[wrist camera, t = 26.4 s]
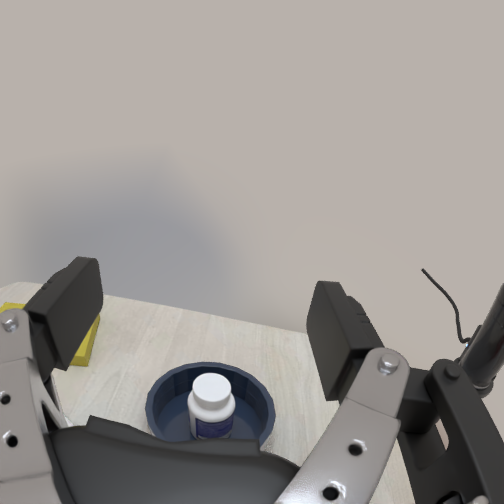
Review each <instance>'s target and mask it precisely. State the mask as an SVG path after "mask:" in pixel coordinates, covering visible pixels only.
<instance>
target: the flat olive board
mask: <svg viewBox="0 0 504 504" xmlns="http://www.w3.org/2000/svg"><path fill="white" fill-rule="evenodd" d="M25 305H26V304H18V303H7V302H5V303H4V305H3V306H2V307H1V308H0V313H1V312H3V311H5V310H8V309H12V308H19V309H22V308H23V307H24V306H25ZM99 320H100V315H99V314H98V316H97V318H96V319H95V321H94V323H93V324H92V326H91V328H90V329H89V331H88V333H87V335H86V336H85V338H84V340H83V342H82V343H81V345H80V347H79V349H78V350H77V352H76V354H75V356H74V358H73V360H72V361H71V363H70V365H77V366H88V363H89V359H90V355H91V350H92V346H93V342H94V339H95V335H96V331H97V327H98V324H99Z"/></svg>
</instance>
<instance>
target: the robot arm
mask: <svg viewBox="0 0 504 504" xmlns="http://www.w3.org/2000/svg"><path fill="white" fill-rule="evenodd" d="M422 272H423V273H424V274H425V275H426V276H427V277H428V278H429V279H430V281H431V282H432V283H433V284H434V285H435V286H436V287H437V288H438V289H439V290H440V291H441V292H442V293H443V294H444V295H445V296H446V297H447V298H448V300H449V301H450V303H451V304H452V305H453V308H454V310H455V313H456V324H457V333H458V338H459V340H460V342H461V343H466V342H468V344H467V345H466V348H465V350H464V351H463V353H462V355H461V356H460V358H459V359H458V361H459V364H457V363H456V362H454V361H451V360H448V359H439V360H437V361H436V362H435V363H434V364H433V366H432V367H431V369H430V370H429V371H428V370H422V369H416V368H411V367H410V366H409V364H408V362H407V360H406V359H405V358H404V357H403V356H402V355H401V354H400V353H398V352H397V351H394V350H392V349H388V348H385V347H384V345H383V343H382V341H381V339H380V338H379V336H378V334H377V332H376V330H375V329H374V327H373V325H372V323H370V320H369V318H368V316H366V313H365V311H364V309H363V308H362V306H361V304H360V303H358V302H357V301H356V300H355V299H354V298H353V297H351V296H346V294H345V292H344V290H343V288H342V286H341V285H340V283H339V282H330V281H318V282H317V284H316V287H315V290H314V294H313V298H312V301H311V305H310V309H309V312H308V316H307V334H308V337H309V341H310V344H311V348H312V351H313V355H314V358H315V362H316V366H317V369H318V373H319V376H320V380H321V384H322V387H323V391H324V395H325V399H326V401H335V400H338V401H339V404H340V407H339V408H338V410H337V412H336V413H335V415H334V417H333V418H332V420H331V422H330V423H329V425H328V427H327V428H326V430H325V432H324V433H323V435H322V436H321V438H320V439H319V441H318V443H317V444H316V446H315V447H314V449H313V450H312V452H311V453H310V455H309V456H308V457H307V459H306V460H305V462H304V463H303V465H302V466H301V467H299V466H297V465H296V464H294V463H293V462H291V461H289V460H287V459H285V458H283V457H280V456H278V455H275V454H272V453H269V452H265V451H261V450H260V439H233V438H217V437H215V438H207V439H199V440H189V441H177V442H169V441H165V440H162V439H160V438H157V437H155V436H152V435H150V434H148V433H145V432H143V431H141V430H138V429H136V428H134V427H132V426H130V425H127V424H123V423H119V422H114V421H110V420H106V419H103V418H99V417H95V416H92V415H90V416H89V419H88V421H87V424H86V426H71V427H69V426H68V424H67V422H66V419H65V416H64V413H63V410H62V407H61V403H60V400H59V396H58V393H57V389H56V385H55V381H54V378H53V375H52V373H51V372H52V370H53V369H54V368H57V369H61V370H64V371H67V369H68V367H69V365H70V363H71V361H72V360H73V358H74V356H75V354H76V352H77V350H78V349H79V347H80V345H81V343H82V342H83V340H84V338H85V336H86V335H87V333H88V331H89V329H90V328H91V326H92V324H93V323H94V321H95V319H96V318H97V316H98V314H99V313H100V311H101V309H102V305H103V292H102V284H101V278H100V271H99V264H98V261H97V259H95V258H87V257H76V258H75V259H74V260H73V261H72V262H71V263H70V264H69V265H68V267H66V268H64V269H62V270H60V271H58V272H57V273H55V274H54V275H53V276H52V277H51V278H50V279H49V280H48V281H47V283H45V284H44V285H43V286H42V287H41V289H39V291H38V292H37V293H36V294H35V295H34V296H33V297H32V298H31V299H30V300H29V302H28V303H27V304H26V305H25V306H24V307H23V308H22V309H19V308H12V309H8V310H5V311H3V312H1V313H0V504H369V502H370V500H371V498H372V496H373V494H374V491H375V489H376V487H377V485H378V483H379V481H380V478H381V476H382V474H383V471H384V469H385V466H386V464H387V462H388V459H389V456H390V454H391V451H392V449H393V446H394V443H395V440H396V438H397V440H398V443H399V446H400V449H401V453H402V456H403V459H404V463H405V466H406V470H407V473H408V477H409V481H410V484H411V488H412V492H413V496H414V500H415V504H504V442H503V440H502V438H501V436H500V434H499V432H498V430H497V428H496V426H495V424H494V422H493V420H492V418H491V417H490V414H489V412H488V410H487V409H486V407H485V405H484V403H483V401H482V399H481V398H480V396H479V394H478V392H477V391H476V390H484V389H486V388H487V387H488V386H489V385H490V383H491V381H492V380H494V379H495V377H496V375H497V373H498V372H499V370H500V369H501V368H502V366H503V365H504V283H503V284H502V286H501V288H500V290H499V292H498V294H497V296H496V299H495V301H494V303H493V305H492V307H491V309H490V311H489V313H488V315H487V317H486V319H485V321H484V323H483V325H479V326H478V327H477V329H476V331H475V333H474V334H473V336H472V338H465V339H463V338H462V335H461V328H460V322H459V312H458V309H457V307H456V305H455V303H454V301H453V300H452V299H451V297H450V296H449V295H448V294H447V292H446V291H445V290H444V289H443V288H442V287H441V286H440V285H439V284H438V283H436V282H435V281H434V280H433V279H432V277H431V276H430V275H429V274H428V273H427V272H426V271H425V270H424V269H422ZM492 382H493V381H492ZM439 419H441V421H442V423H443V426H444V428H445V430H446V433H447V435H448V439H449V444H448V448H447V450H445V447H444V445H443V442H442V440H441V437H440V435H439V432H438V430H437V427H436V425H435V424H436V423H437V422H438V420H439Z"/></svg>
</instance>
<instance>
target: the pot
mask: <svg viewBox="0 0 504 504" xmlns="http://www.w3.org/2000/svg"><path fill="white" fill-rule="evenodd" d="M206 373H216V374H219V375H222V376H224V377H225V378H226V379H227V380H228V381H229V383H230V385H231V393H232V395H233V397H234V399H235V411H234V418H233V425H232V431H231V434H230V436H229V437H228V438H233V439H260V450H261V451H264V450H265V448H266V446H267V443H268V441H269V438H270V436H271V433H272V430H273V426H274V422H275V417H276V414H275V408H274V403H273V399H272V398H271V396H270V394H269V393H268V391H267V389H266V388H265V386H264V385H263V384H261V383H260V382H259V381H258V380H257V379H256V378H255V377H254V376H252V375H251V374H249V373H247V372H245V371H243V370H241V369H239V368H237V367H234V366H230V365H226V364H223V363H216V362H197V363H191V364H184V365H182V366H180V367H177V368H175V369H172V370H170V371H168V372H167V373H166V374H164V375H163V376H162V377H161V378H159V379H158V380H157V381H156V382H155V384H154V385H153V387H152V388H151V390H150V391H149V393H148V396H147V401H146V406H145V412H146V416H147V421H148V425H149V429H150V432H151V435H152V436H155V437H157V438H160V439H162V440H165V441H169V442H177V441H189V440H197V439H196V438H195V437H194V436H193V435H192V433H191V431H190V427H189V414H188V396H189V394H190V392H191V391H192V390H193V382H194V380H195V379H196V378H197V377H198V376H200V375H202V374H206Z"/></svg>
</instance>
